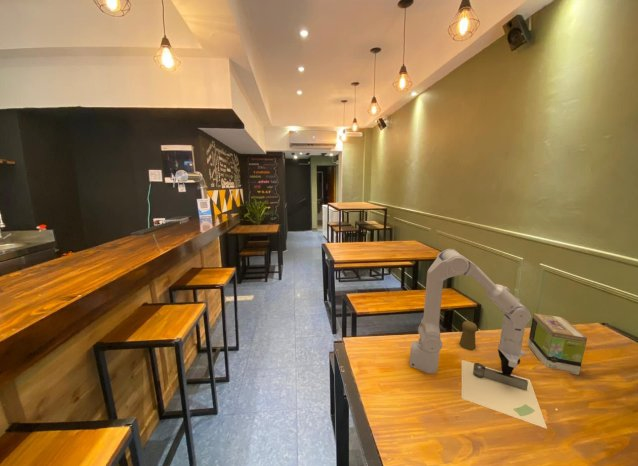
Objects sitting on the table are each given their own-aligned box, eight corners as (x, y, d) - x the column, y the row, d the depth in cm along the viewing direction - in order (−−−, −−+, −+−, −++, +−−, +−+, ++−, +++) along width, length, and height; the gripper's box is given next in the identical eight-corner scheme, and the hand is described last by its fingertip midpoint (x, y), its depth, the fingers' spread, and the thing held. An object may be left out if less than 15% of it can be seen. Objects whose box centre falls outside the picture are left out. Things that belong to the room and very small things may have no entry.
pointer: (473, 375, 86) (474, 367, 85) (472, 369, 89) (473, 361, 88) (527, 392, 79) (529, 383, 79) (525, 385, 82) (526, 377, 81)
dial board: (461, 401, 77) (461, 398, 77) (461, 362, 94) (461, 359, 94) (546, 431, 68) (547, 428, 68) (529, 382, 85) (529, 379, 85)
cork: (478, 353, 99) (481, 328, 97) (461, 351, 101) (464, 326, 99) (472, 344, 105) (475, 320, 103) (456, 342, 106) (459, 318, 104)
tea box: (580, 376, 88) (589, 337, 85) (545, 369, 91) (552, 331, 88) (556, 350, 102) (563, 316, 99) (526, 345, 105) (532, 312, 102)
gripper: (532, 353, 75) (525, 392, 77) (522, 329, 88) (516, 364, 90) (503, 345, 78) (497, 384, 81) (497, 324, 91) (492, 357, 93)
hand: (505, 373), depth 86 cm, fingers closed
